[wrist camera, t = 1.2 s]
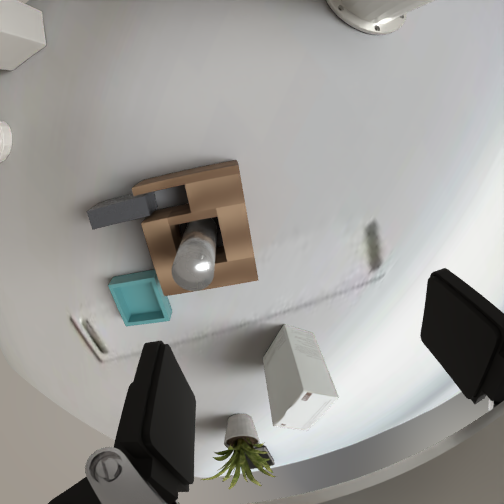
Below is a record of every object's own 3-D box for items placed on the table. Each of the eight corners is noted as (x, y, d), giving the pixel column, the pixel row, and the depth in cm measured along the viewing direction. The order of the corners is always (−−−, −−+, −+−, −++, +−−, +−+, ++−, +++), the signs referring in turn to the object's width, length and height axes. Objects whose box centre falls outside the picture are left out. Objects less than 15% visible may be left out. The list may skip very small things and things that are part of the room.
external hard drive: (249, 463, 66) (250, 469, 65) (237, 448, 62) (238, 454, 60) (274, 458, 66) (274, 464, 64) (264, 443, 62) (265, 449, 60)
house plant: (210, 439, 58) (211, 498, 44) (193, 407, 53) (190, 477, 38) (271, 432, 59) (280, 492, 44) (263, 399, 53) (274, 470, 38)
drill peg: (183, 217, 37) (166, 257, 26) (213, 211, 37) (208, 249, 26) (190, 246, 39) (177, 293, 28) (219, 240, 39) (217, 287, 28)
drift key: (99, 202, 35) (86, 211, 32) (153, 188, 35) (144, 196, 32) (104, 219, 36) (92, 229, 33) (157, 206, 36) (150, 215, 33)
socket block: (143, 180, 35) (131, 188, 30) (236, 159, 35) (238, 164, 30) (170, 277, 40) (164, 296, 36) (254, 262, 41) (258, 280, 36)
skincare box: (290, 364, 49) (308, 433, 36) (259, 356, 48) (271, 429, 34) (315, 330, 47) (342, 399, 33) (283, 320, 45) (303, 393, 32)
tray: (113, 276, 40) (108, 285, 37) (157, 268, 40) (154, 277, 38) (130, 316, 43) (125, 326, 40) (172, 310, 43) (169, 320, 41)
